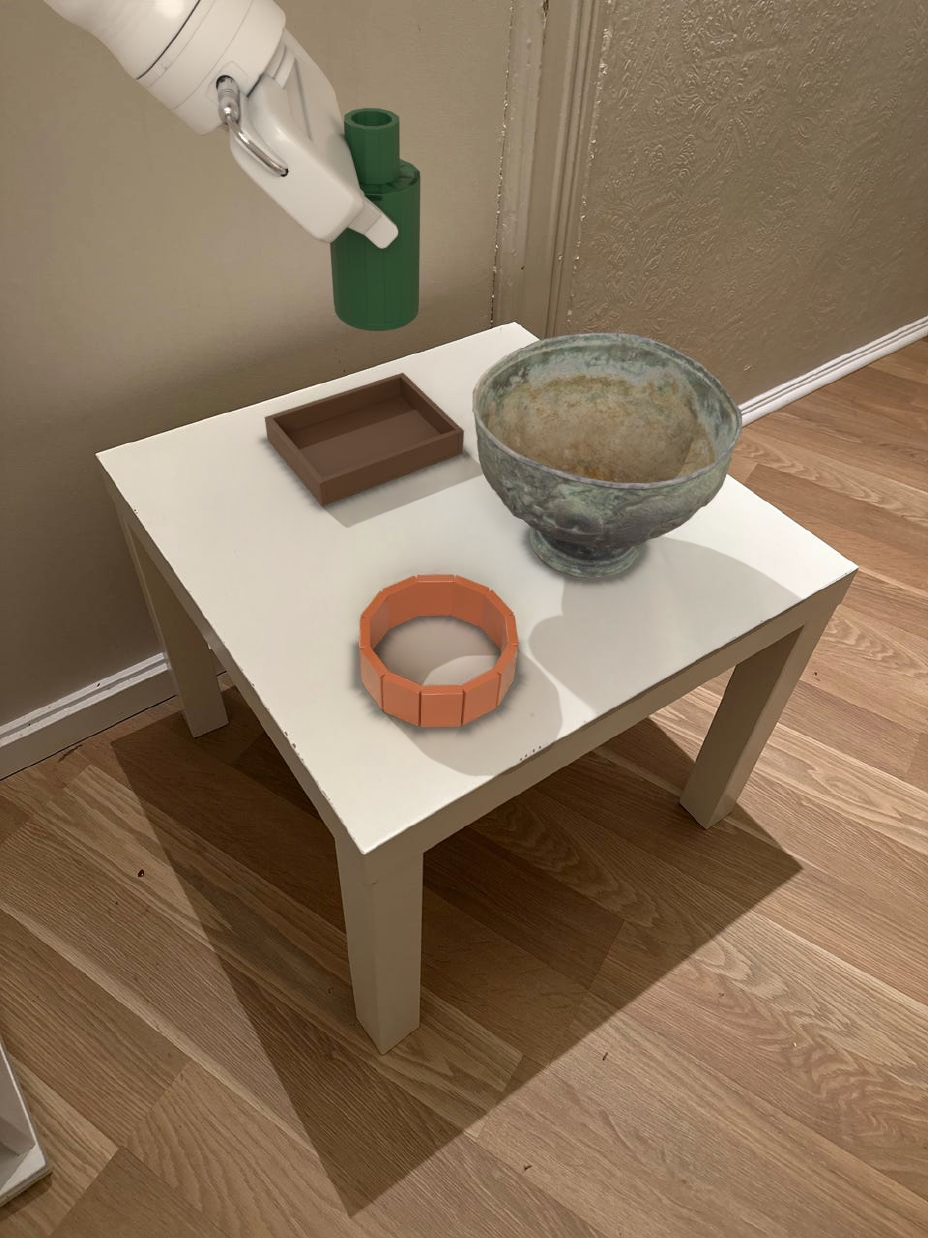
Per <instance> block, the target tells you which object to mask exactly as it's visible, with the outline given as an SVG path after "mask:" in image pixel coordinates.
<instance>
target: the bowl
mask: <svg viewBox="0 0 928 1238" xmlns="http://www.w3.org/2000/svg"><path fill="white" fill-rule="evenodd" d="M471 411H472V413H473V416H474V417H473V418H474V424H475V425H474V426H475V433H476V439H477V440H476V445H477V446H476V447H477V454H478V462H479V464H480V465H479V466H480V468H481V470H482V474H483V476H484V478H485V479H486V481H487V483H488V485H489V486H490V488H491V489H492V491H494V492H495V493H496V495H497V497H498V498H499V499H500V501H501V502H502V504H503V506H505V507H506V508H507V509H508V511H509V512H510V513H511V514H512V516H513V517H515V518H518V519H520V520H523V521H524V523H526V524H527V525H528V526H530V530H529V537H528V538H529V544H530V547H531V548H532V550H533V551H534V552H535V554H536V555H537V557H538V558H539V559H541V560H542V561H543V562H545V563H546V564H547V565H548V566H550V567H552V568H553V569H554V570H557V571H560V572H562V573H565V574H568V575H569V576H575V577H579V578H587V579H592V578H603V577H612V576H614V575H617V574H619V573H621V572H623V571H625V570H627V569H629V567H630V566H631V565H633V564H634V562H635V561H636V560H637V558H638V556H639V554H640V553H641V549H642V544H644V543H646V542H647V541H649V540H653V539H656V538H659V537H661V536H663V535H666V534H668V533H670V532H672V531H674V530H676V529H677V528H679V527H681V526H683V525H685V524H686V523H687V522H688V521H690V520H691V519H692V518H693V517H694V516H695V514H697V513H698V511H699V510H700V509H702V508H703V507H707V505H708V504H710V503H711V502H712V501H713V500H714V499H715V497H716V496H717V495H718V494H719V492H720V490H721V489H722V488H723V486H724V483H725V481H726V478H727V475H728V472H729V469H730V467H731V465H732V461H733V460H732V455H733V452H734V449H735V447H736V446H737V443H738V442H739V440H740V438H741V436H742V431H743V415H742V410H741V408H740V407H739V406H738V404H737V403H736V401H735V400H734V399H733V397H732V396H731V394H730V393H729V392H728V391H727V390H726V388H725V386H724V385H723V383H722V382H721V381H720V379H718V378H717V376H715V375H714V374H713V373H711V372H710V371H709V370H708V369H707V368H706V367H705V366H704V365H703V364H702V363H700V362H699V361H698V360H696V359H695V358H692V357H690V356H688V355H687V354H684V353H682V352H681V351H679V350H677V349H675V348H674V347H672V346H670V345H668V344H665V343H663V342H660V341H657V340H655V339H652V338H649V337H646V336H643V335H638V334H633V333H625V332H623V333H622V332H609V331H607V332H606V331H602V332H587V333H575V334H565V335H559V336H552V337H551V336H550V337H547V338H542V339H539V340H537V341H534V342H531V343H529V344H528V345H526V346H525V347H520V348H518V349H516V350H514V351H512V352H510V353H508V354H506V355H504V356H503V357H501V358H500V359H499V360H498V361H496V362H495V363H494V364H492V365H491V366H489V367H488V368H487V369H485V371H484V372H483V374H481V376H480V377H479V378H478V379H477V382H476V383H475V384H474V388H473V390H472V410H471Z"/></svg>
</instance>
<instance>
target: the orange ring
mask: <svg viewBox="0 0 928 1238" xmlns="http://www.w3.org/2000/svg"><path fill="white" fill-rule="evenodd" d="M441 616H442V617H443V616H452V617H453V618H456V619H459V620H461V621H464V622H466V623H468V624H471V625H474V626H476V627H479V628H481V630H482V631H483V632H484V633H485V634H486V635H487V637H489V638H490V640H491V641H492V642H493V643H494V644H495V645H496V646H497V648H498V649H499V650H500V656H499V657H498V659H497V661H496V662H495V664H494V666H493V667H492V669H490V670H488V671H486V672H484V673H482V674H480V675H478V676H476V677H473V678H472V679H470V680H468V681H466V682H464V683H463V684H440V685H439V684H437V685H436V684H435V685H434V684H433V685H421V684H419V683H417V682H415V681H413V680H410V679H408V678H405V677H403V676H401V675H398V674H397V673H394V672H392V671H390V670H389V669H388V668H387V667H386V665H385V664H384V663H383V661H382V660H381V659H380V657H379V656H378V655H377V653H376V652H375V651H374V650H375V649H376V647H377V646H378V645H379V643H380V642H381V641H382V639H383V638H384V637H385V635H386V634H388V631H389V630H390V629H393V628H395V627H397V626H400V625H402V624H404V623H406V622H408V621H411V620H412V619H415V618H418V617H441ZM516 621H517V620H516V616H515V613H514V611H513V610H512V609H511V608H510V607H509V606H508V605H507V604H506V603H505V601H504V600H503V599H502V598H501V597H500V596H499V595H498V594H497V593H496V592H495V591H494V589H490V587H489V586H486V585H483V584H481V583H478V582H476V581H474V580H470V579H468V578H465V577H463V576H461V575H458V574H456V575H454V574H416V575H411V576H409V577H406V578H405V579H402V580H400V581H398V582H396V583H393V584H391V585H388V586H386V587H383V588H382V589H381V590H379V591H378V593H377V594H376V595H375V597H374V598H373V599H372V600H371V601H370V603H369V604H368V605H367V606H366V608H365V609H364V610H363V611H362V613H361V614H360V617H359V627H358V628H359V631H358V632H359V633H358V634H359V636H358V651H359V668H360V680H361V684H362V685H363V686H364V688H365V689H366V691H367V692H368V693H369V695H370V696H371V698H372V699H373V701H374V702H375V703H376V704H377V706H378V707H379V709H380V710H383V712H385V713H386V714H389V715H391V716H393V717H396V718H397V719H400V720H402V721H405V722H407V723H409V724H411V725H414V726H416V727H419V726H420V727H421V728H446V727H447V728H449V727H450V728H451V727H454V728H455V727H461V725H462V726H465V725H467V724H469V723H471V722H472V721H475V720H477V719H479V718H480V717H483V716H485V715H486V714H488V713H490V712H492V711H494V710H495V709H496V708H498V707H499V705H500V704H501V702H502V701H503V699H504V697H505V696H506V694H507V692H508V690H509V688H510V687H511V685H512V683H513V682H514V679H515V673H516V666H517V660H518V653H519V652H518V651H519V646H520V645H519V644H520V642H519V635H518V627H517V622H516Z"/></svg>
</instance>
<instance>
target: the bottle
mask: <svg viewBox="0 0 928 1238" xmlns="http://www.w3.org/2000/svg"><path fill="white" fill-rule="evenodd" d="M343 125H344V135H345V139H346V141H347V143H348V145H349V148H350V152H351V156H352V160H353V163H354V167H355V171H356V175H357V179H358V183H359V187H360V189H361V190H362V191H363V192H364V196H365V197H366V198H367V199H369V200H370V201H371V202H372V203H373V204H375V205H376V206H377V207H378V206H379V205H380V206H381V207H382V208H383V209H384V210H385V211H386V212H387V213H388V214H389V215H390V216H391V217H392V218H393V219H394V220H395V223H396V226H397V229H398V235H397V237H396V238H395V239H394V240H393V241H392V242H391V243H390V244H389V245H388V246H387V247H386V248H383V249H382V248H378V247H377V246H376V245H375V244H374V243H373V242H372V241H371V240H369V239H368V238H367V237H366V236H365V235H363V234H361V233H359V232H357V231H355V230H352V229H350V228H348V227H347V228H346V229H345V230H344V231H343V232H342V233H341V234H340V235H339V236H338V237H337V238H336V239H335V240H334V241H333V242H331V243H329V250H330V252H329V253H330V266H331V279H332V295H333V297H332V298H333V306H334V312H335V313H334V314H335V315H336V317H337V318H338V319H339V320H340V321H341V322H343V323H344V324H345V325H348V326H350V327H352V328H355V329H359V330H363V331H368V332H369V331H370V332H384V331H391V330H397V329H399V328H400V329H401V328H403V327H405V326H407V325H408V324H410V323H411V322H413V321H414V320H415V319H416V318H417V316H418V314H419V311H420V310H419V308H420V254H421V253H420V251H421V249H420V247H421V245H420V244H421V243H420V242H421V241H420V240H421V171H420V170H419V169H418V168H417V167H416V166H415V165H414V164H413V163H411V162H409V161H406V160H403V159H401V157H400V155H401V154H400V153H401V152H400V147H401V146H400V145H401V144H400V141H401V140H400V139H401V137H400V134H401V133H400V131H401V130H400V129H401V128H400V127H401V125H400V116H399V115H398V114H396V113H395V112H393V111H391V110H388V109H383V108H378V107H377V108H375V107H363V108H356V109H352V110H350V111H348V112H347V113H345V114H344V115H343Z"/></svg>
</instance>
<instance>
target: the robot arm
mask: <svg viewBox="0 0 928 1238" xmlns="http://www.w3.org/2000/svg"><path fill="white" fill-rule="evenodd" d="M42 1H43V2H44V3H45V4H46V5H48V6H49V7H50V8H52V10H53V11H54V12H56V13H57V14H58V15H59V16H61V17H62V18H63V19H64V20H66V21H67V22H69V23H70V24H73V25H74V26H77V27H79V28H80V29H83V30H84V31H86V32H88V33H89V34H91V35H92V36H94V37H95V38H97V40H99V41H100V42H101V43H102V44H103V45H104V46H105V47H106V48H107V49H108V50H109V51H110V52H111V53H112V55H113V56H114V57H115V59H116V60H117V61H118V63H119V65H121V67H122V68H123V70H124V71H125V72H126V73H127V74H128V75H129V77H131V78H132V79H133V80H134V81H135V82H136V83H137V84H138V85H140V86H141V87H142V88H143V89H144V90H146V91H147V92H148V93H149V94H150V95H151V96H152V97H154V98H155V99H156V100H157V101H158V102H160V103H161V104H162V105H163V106H164V107H165V108H166V109H167V110H169V111H170V112H171V113H172V114H173V115H174V116H176V117H177V118H178V119H179V120H180V121H182V122H183V123H184V124H185V125H186V126H187V127H188V128H190V129H191V130H192V131H193V132H194V133H195V134H196V135H197V136H200V137H205V136H208V135H210V134H212V133H213V132H215V131H216V130H218V129H219V128H220V129H222V130H223V132H224V133H226V134H227V135H228V136H229V147H230V152H231V154H232V157H233V158H234V161H236V163H237V164H238V166H239V167H240V168H241V169H242V171H243V172H244V173H245V174H246V175H247V176H248V177H249V178H250V179H251V181H252V182H253V183H255V185H256V186H257V187H258V188H259V189H260V190H261V191H262V192H263V193H264V194H265V195H266V196H267V197H269V198H270V199H271V200H272V201H273V202H274V203H275V205H277V207H279V208H280V209H281V210H282V211H283V212H284V213H285V214H286V215H287V216H289V217H290V218H291V219H292V220H293V221H294V222H295V223H296V224H297V225H298V226H299V227H301V229H303V230H304V231H305V232H306V233H307V234H308V235H309V236H311V237H312V238H313V239H315V240H318V241H319V242H322V243H325V244H330V243H331V242H333V241H334V240H335V239H336V238H337V237H338V236H339V235H340V234H341V233H342V232H343V231H344V230H345V229H346V228H347V227H348V228H350V229H352V230H355V231H357V232H359V233H361V234H363V235H365V236H366V237H367V238H368V239H369V240H371V241H372V242H373V243H374V244H375V245H376V246H377V247H378V248H382V249H383V248H386V247H387V246H388V245H389V244H390V243H391V242H392V241H393V240H394V239H395V238H396V237H397V235H398V229H397V226H396V223H395V220H394V219H393V218H392V217H391V216H390V215H389V214H388V213H387V212H386V211H385V210H384V209H383V208H382V207H381V206H380V205H379V206H378V207H377V206H376V205H375V204H373V203H372V202H371V201H370V200H369V199H367V198H366V197H365V196H364V192H363V191H362V190H361V189H360V187H359V183H358V179H357V175H356V171H355V167H354V163H353V160H352V156H351V152H350V148H349V145H348V143H347V141H346V139H345V135H344V120H343V117H342V113H341V110H340V105H339V102H338V99H337V94H336V91H335V89H334V88H333V85H332V84H331V82H330V81H329V79H328V78H327V76H326V75H325V74H324V72H323V71H322V70H321V68H320V67H319V66H318V64H317V63H316V62H315V61H314V59H313V58H312V57H311V56H310V55H309V54H308V52H307V51H306V50H305V49H304V48H303V46H302V45H301V44H300V43H299V42H298V40H297V39H296V38H295V37H294V35H292V33H291V32H290V31H289V29H287V28H286V24H287V16H286V13H285V11H284V10H283V9H282V8H281V7H280V6H279V5H278V4H277V3H276V1H274V0H42Z"/></svg>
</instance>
